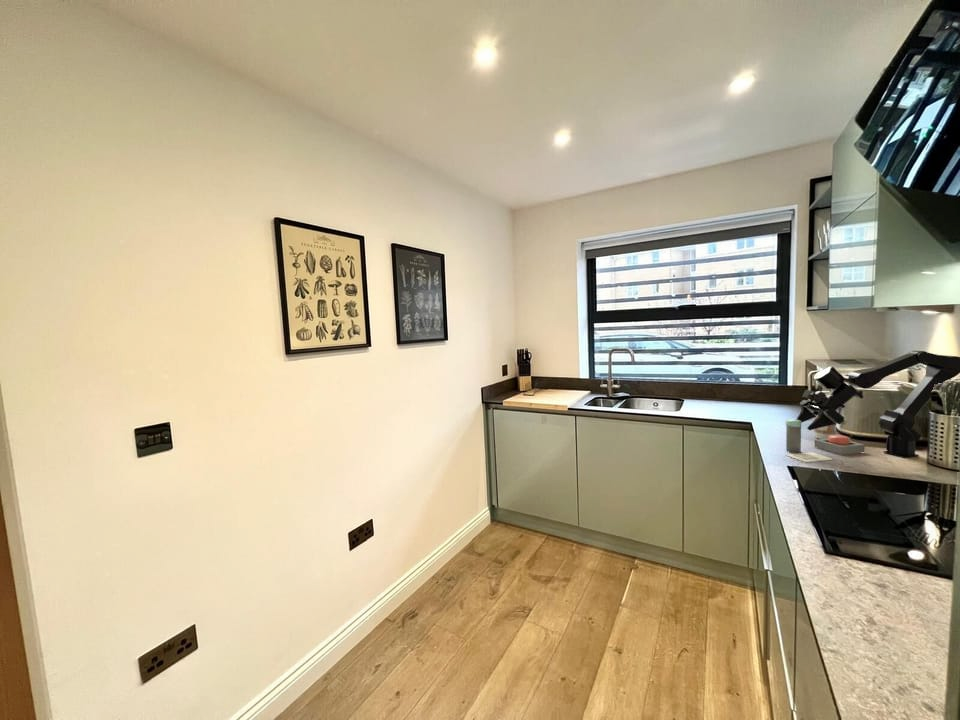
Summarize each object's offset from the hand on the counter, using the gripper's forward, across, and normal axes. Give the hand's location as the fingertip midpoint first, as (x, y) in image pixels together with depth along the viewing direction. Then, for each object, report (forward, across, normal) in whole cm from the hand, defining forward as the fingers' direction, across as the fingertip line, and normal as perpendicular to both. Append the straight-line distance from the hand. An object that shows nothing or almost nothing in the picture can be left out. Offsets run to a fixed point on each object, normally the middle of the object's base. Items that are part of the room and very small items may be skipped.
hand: (801, 426), depth 150 cm
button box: (-3, -4, +17) cm, 17 cm away
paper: (+8, +8, +6) cm, 12 cm away
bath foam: (-5, -20, +19) cm, 29 cm away
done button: (-4, -4, +15) cm, 16 cm away
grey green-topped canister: (+9, 0, +5) cm, 10 cm away
